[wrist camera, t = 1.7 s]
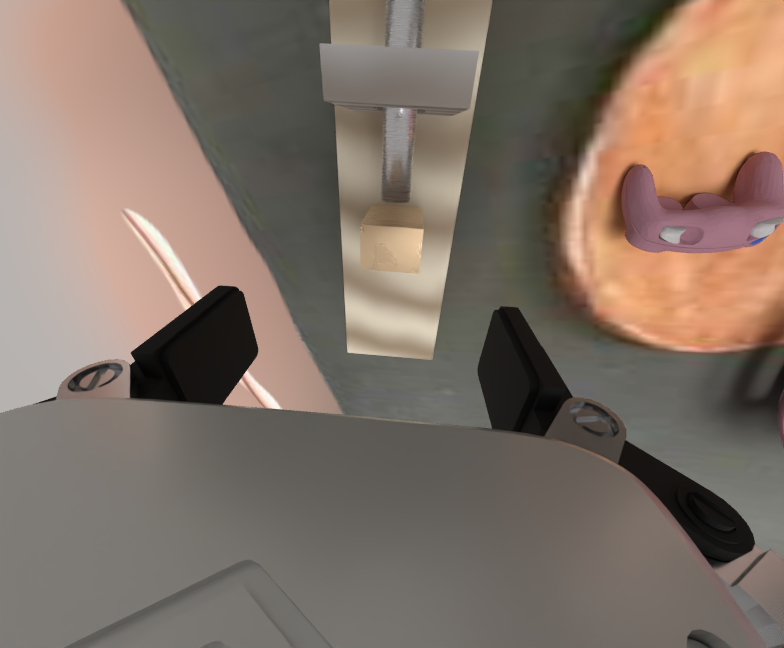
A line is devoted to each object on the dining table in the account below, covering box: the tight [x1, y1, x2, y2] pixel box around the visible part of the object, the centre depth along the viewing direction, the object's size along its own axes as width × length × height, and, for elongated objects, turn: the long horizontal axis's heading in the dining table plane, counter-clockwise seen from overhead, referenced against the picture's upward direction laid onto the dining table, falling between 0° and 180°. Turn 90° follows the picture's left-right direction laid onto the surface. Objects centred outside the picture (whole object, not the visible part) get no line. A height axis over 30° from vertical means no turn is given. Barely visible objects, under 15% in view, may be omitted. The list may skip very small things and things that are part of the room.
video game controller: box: [621, 152, 784, 253], centre depth 22 cm, size 10×5×7 cm, turn 96°
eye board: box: [319, 0, 493, 360], centre depth 22 cm, size 32×10×10 cm, turn 177°
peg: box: [360, 0, 426, 274], centre depth 17 cm, size 16×4×6 cm, turn 177°
